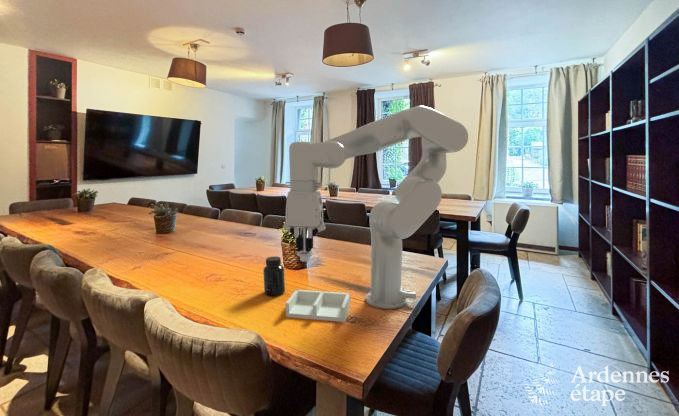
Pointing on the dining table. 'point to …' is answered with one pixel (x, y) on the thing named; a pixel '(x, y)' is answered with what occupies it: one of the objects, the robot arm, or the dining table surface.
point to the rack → (318, 305)
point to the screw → (304, 247)
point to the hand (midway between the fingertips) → (304, 250)
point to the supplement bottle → (274, 277)
